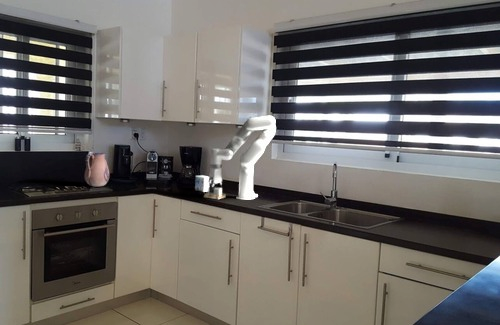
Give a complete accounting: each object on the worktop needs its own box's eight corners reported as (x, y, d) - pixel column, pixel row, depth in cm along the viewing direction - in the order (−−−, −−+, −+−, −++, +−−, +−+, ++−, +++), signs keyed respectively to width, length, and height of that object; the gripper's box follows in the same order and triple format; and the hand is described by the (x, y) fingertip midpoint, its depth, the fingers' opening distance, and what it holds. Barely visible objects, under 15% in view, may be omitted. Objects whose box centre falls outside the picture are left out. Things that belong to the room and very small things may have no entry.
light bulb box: (194, 189, 309) (195, 175, 308) (201, 189, 313) (202, 175, 312) (203, 192, 301) (204, 177, 300) (210, 191, 306) (211, 176, 305)
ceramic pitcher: (113, 184, 317) (113, 152, 315) (100, 188, 296) (100, 154, 294) (91, 183, 319) (91, 151, 317) (77, 187, 298) (77, 153, 296)
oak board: (225, 197, 284) (225, 193, 284) (218, 199, 275) (218, 195, 275) (211, 195, 289) (212, 191, 288) (204, 197, 280) (204, 193, 279)
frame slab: (221, 195, 281) (222, 187, 281) (219, 196, 278) (219, 188, 278) (210, 194, 285) (210, 186, 285) (207, 195, 282) (208, 187, 282)
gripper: (217, 165, 289) (217, 189, 291) (204, 167, 274) (203, 192, 275) (227, 166, 286) (226, 190, 287) (214, 168, 270) (213, 194, 272)
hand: (215, 191), depth 281 cm, fingers open, 9 cm apart
